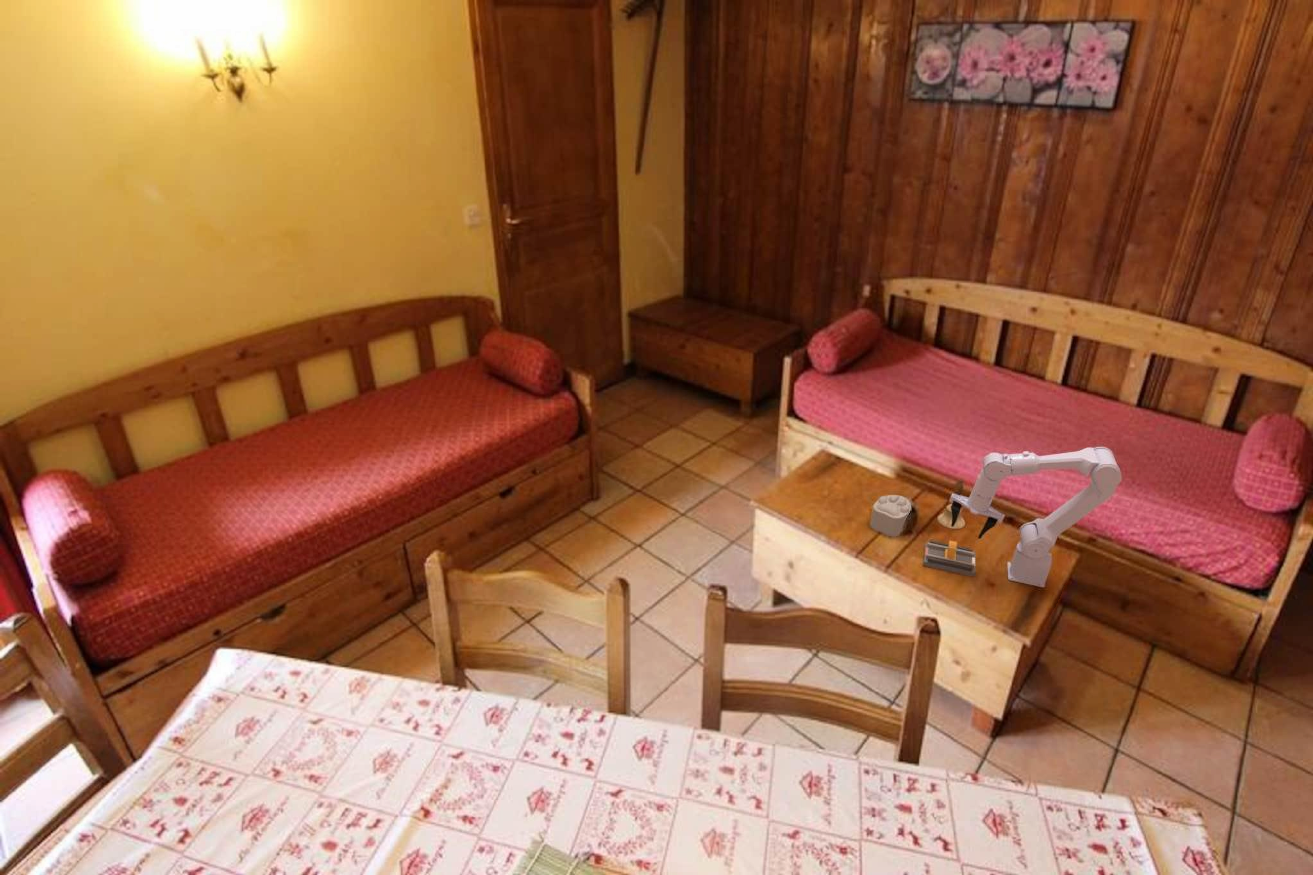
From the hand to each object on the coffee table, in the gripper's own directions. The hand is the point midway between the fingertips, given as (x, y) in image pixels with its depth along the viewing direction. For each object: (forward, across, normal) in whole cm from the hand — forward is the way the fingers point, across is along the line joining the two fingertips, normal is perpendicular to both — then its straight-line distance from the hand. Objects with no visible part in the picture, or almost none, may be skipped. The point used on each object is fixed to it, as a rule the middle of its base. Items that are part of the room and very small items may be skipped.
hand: (966, 530), depth 206 cm
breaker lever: (+11, -1, 0) cm, 11 cm away
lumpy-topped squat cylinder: (+15, -21, +8) cm, 27 cm away
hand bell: (+12, -6, +20) cm, 24 cm away
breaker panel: (+12, -1, 0) cm, 12 cm away
